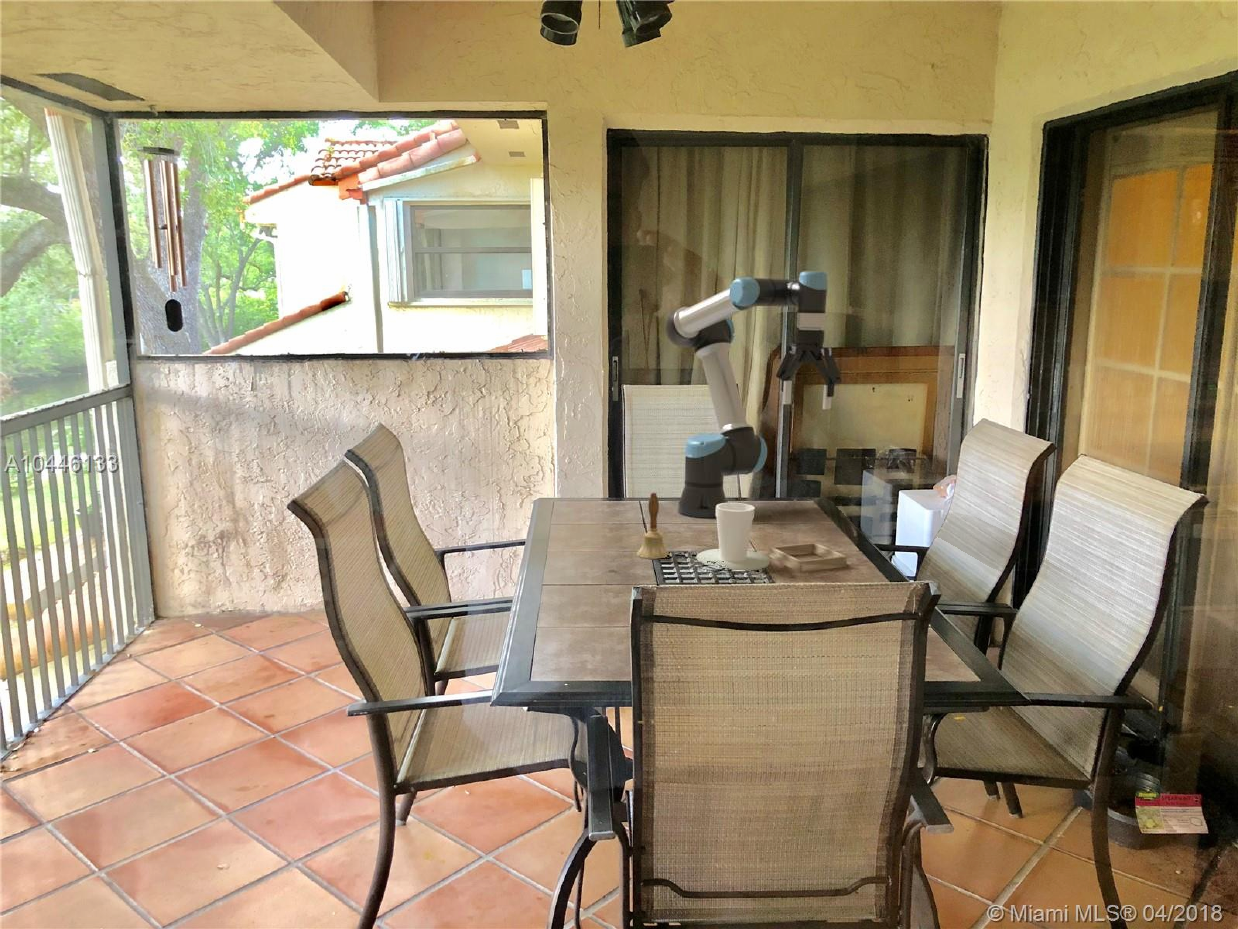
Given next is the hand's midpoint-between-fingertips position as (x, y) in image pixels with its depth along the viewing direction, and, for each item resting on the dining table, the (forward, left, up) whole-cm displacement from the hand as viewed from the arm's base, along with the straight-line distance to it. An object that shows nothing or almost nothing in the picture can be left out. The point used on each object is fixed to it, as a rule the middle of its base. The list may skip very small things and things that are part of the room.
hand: (806, 406), depth 251 cm
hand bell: (-6, -52, -35) cm, 63 cm away
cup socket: (+22, -26, -35) cm, 49 cm away
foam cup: (+10, -40, -34) cm, 53 cm away
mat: (+10, -40, -35) cm, 54 cm away
